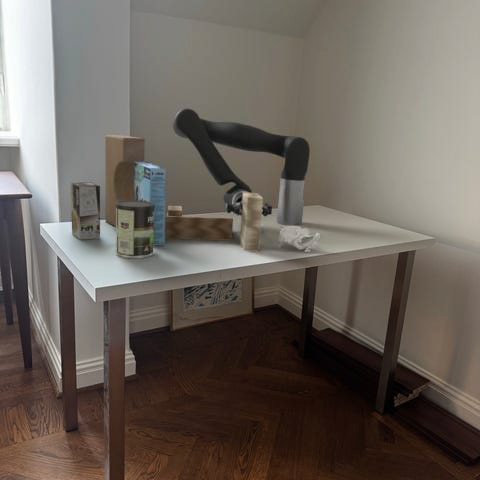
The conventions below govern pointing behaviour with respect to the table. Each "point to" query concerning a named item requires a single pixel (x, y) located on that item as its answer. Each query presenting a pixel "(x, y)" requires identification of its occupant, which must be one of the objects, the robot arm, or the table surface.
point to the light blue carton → (152, 194)
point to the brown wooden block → (198, 228)
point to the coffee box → (85, 210)
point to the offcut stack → (174, 211)
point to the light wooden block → (251, 221)
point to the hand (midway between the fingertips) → (252, 212)
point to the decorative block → (121, 170)
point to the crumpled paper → (297, 237)
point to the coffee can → (134, 228)
